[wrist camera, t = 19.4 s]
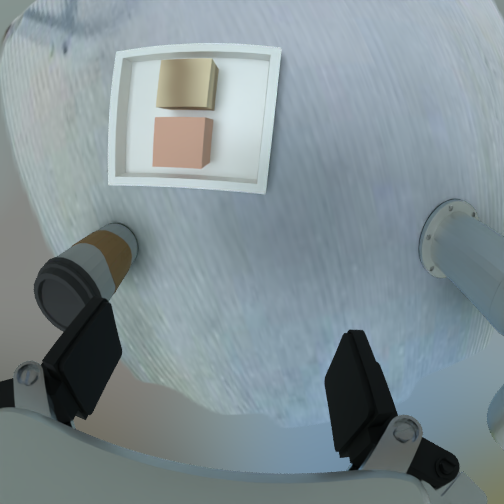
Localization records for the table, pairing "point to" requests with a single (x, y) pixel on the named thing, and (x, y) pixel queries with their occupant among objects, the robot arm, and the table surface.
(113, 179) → the tray
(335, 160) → the table surface
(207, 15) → the table surface
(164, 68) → the maple block
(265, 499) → the robot arm
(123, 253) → the coffee cup
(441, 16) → the table surface
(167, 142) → the terracotta block
